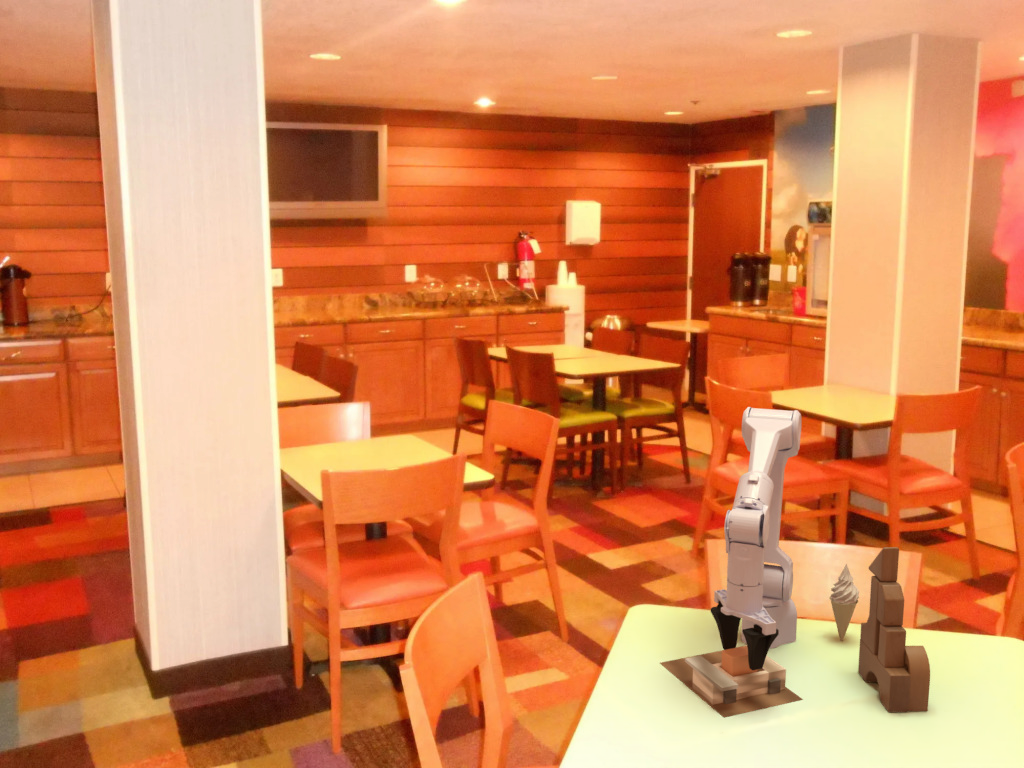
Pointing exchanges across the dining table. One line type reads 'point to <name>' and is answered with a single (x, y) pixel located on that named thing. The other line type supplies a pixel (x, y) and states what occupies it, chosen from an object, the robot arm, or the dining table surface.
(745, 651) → the orange upright block
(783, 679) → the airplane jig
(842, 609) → the ice cream cone
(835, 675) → the dining table surface
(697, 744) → the dining table surface
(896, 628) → the wooden toy
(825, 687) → the dining table surface
